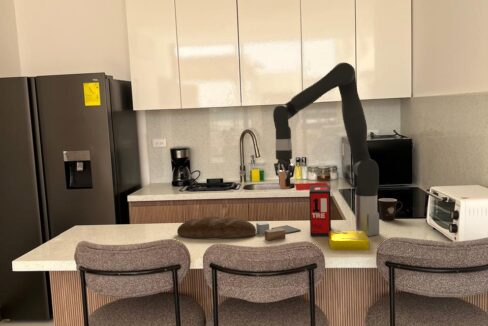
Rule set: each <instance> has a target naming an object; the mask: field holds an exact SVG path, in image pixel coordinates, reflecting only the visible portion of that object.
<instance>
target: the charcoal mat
mask: <svg viewBox="0 0 488 326" xmlns="http://www.w3.org/2000/svg"><path fill="white" fill-rule="evenodd" d="M277 228H282V229H284V230H285V235H288V234H292V233H298V232H301V231H302V229H299V228H296V227H293V226H292V225H287V224H284V225H280V226H274V227H270V230H271V229H277Z"/></svg>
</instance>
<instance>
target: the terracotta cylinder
mask: <svg viewBox="0 0 488 326" xmlns="http://www.w3.org/2000/svg"><path fill="white" fill-rule="evenodd" d="M286 172H287V171H286ZM287 176H288V173H287ZM285 179H286V178H285V174H284V173H283V171H280V185H279V189H280V190H290V188H291V186H290V187H286V186H285Z"/></svg>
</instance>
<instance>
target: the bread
mask: <svg viewBox="0 0 488 326" xmlns="http://www.w3.org/2000/svg"><path fill="white" fill-rule="evenodd" d="M176 232H177V235H178V236H180V237H184V238H189V239H190V238H192V239H203V238H218V239H219V238H220V239H221V240H222V239H223V240H224V239H240V238H242V239H243V238H250V237H253V236H255V235H256V233H257V228H256V226H255V225H254V224H253V223H252V222H249V221H247V220H244V219H239V218H236V217H231V216H230V217H220V216H207V217H200V218H198V217H197V218H192V219H189V220H186V221H184V222H183V223H181V224H180V225H179V226H178V228H177V230H176Z"/></svg>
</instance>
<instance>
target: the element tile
mask: <svg viewBox="0 0 488 326" xmlns="http://www.w3.org/2000/svg"><path fill="white" fill-rule="evenodd" d="M328 244H329V250H332V251H361V252H363V251H364V252H366V251H369V250H370V239H369V236H367V234H366V232H364V231H356V230H339V229H335V230H331V231H329V237H328Z"/></svg>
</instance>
